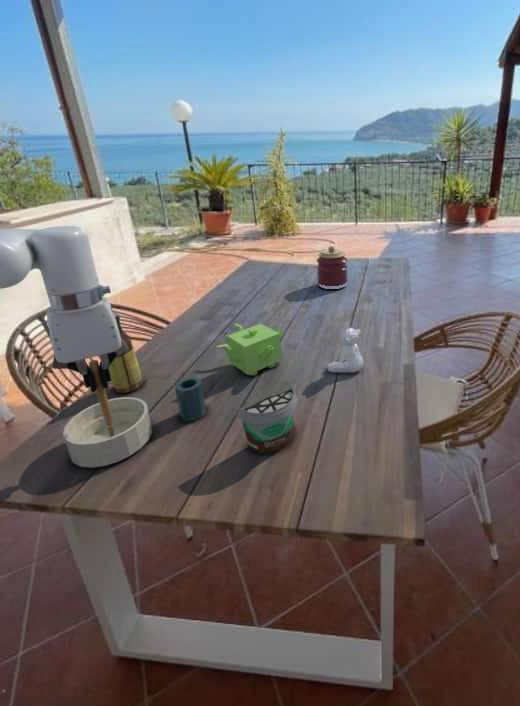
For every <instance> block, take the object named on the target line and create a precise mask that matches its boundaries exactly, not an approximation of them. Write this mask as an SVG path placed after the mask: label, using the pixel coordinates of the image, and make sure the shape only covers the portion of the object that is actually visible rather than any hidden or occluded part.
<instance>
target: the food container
mask: <svg viewBox="0 0 520 706" xmlns="http://www.w3.org/2000/svg"><path fill="white" fill-rule="evenodd" d="M297 405H298V396H297V394H296V391H295V388H293V386H292V385H291V384H290V385H289V389H287V390H285V391H284V392H281V393H278V394H275V395H272V396H267V397H265V398H263V399H261V400H260V401H258V402H256V403H253V405H250V406H248V407H246V408H242V407H241V406H238V409H237V414H236V415H237V418H238V419H239V420H241V423H242V427H243V430H244V434H245V438H246V441H247V446H248V447H249V449H251V450H252V451H254V452H256V453H261V454H269V453H270V454H271V453H275V452H278V451H281V450H283V449H284V448H287V446H288V445H290V443H291V441H292V439H293V435H294V415H295V413H294V412H295V411H294V410H295V409H296V407H297Z"/></svg>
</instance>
